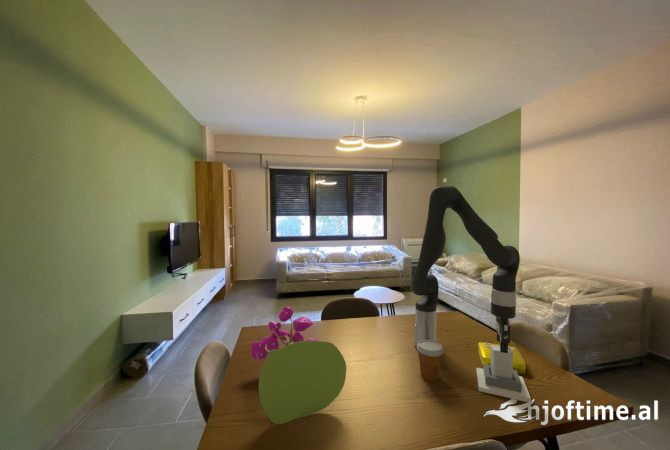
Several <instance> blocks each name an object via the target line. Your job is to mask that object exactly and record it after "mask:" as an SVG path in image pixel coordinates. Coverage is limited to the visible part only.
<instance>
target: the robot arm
mask: <svg viewBox="0 0 670 450" xmlns="http://www.w3.org/2000/svg"><path fill="white" fill-rule="evenodd" d="M447 209H451V210H452V211H453V212H455V213H456V214H457V216H458V217H460V219H461V221H462V223H463V226H464V228H465V231H467V233H468V235H469V236H470V237H471V238H472V239H473V240H474V241H475V242H476V243H477V244H478V245H479V246H480V247H481V249H482V251H483V252H484V254H485V256H486V257H487V259H488V260H489V261H490V262H491V263H492V264H494V265H495V266H497V269H496V271H495V272H494V273H493V275H492V282H491V283H492V285H491V286H492V288H491V295H490V314H491V315H493V316H494V317H495V324H494V325H495V329H496V341H497V342H499V345H500V351H501V352H503V353H508V346H509V344H510V343H511V322H510V320H509V319H511V320H512V319H515V318H516V315H517V313H516V312H517V294H516V287H517V282H516V280H517V275H518V271H519V267H520V261H521V257H520V253H519V251H518V249H517V248H516V247H514V246H513V245H507V244H506V245H503V244H502V243H501V242H500V240H499V235H498V233H497V232H496V231H494V230H493V228H492V227H491V226H490V225H488V223H487V222H485V221H484V220H483V219H482V217H480V216H479V215H478V213H477V212H476V211H475V210H474V209H473V208H472V206H471V204H470V203H469V202H468V201H467V199H466V198H465V196H464V195H463V194H462V193H461V191H460V190H459V189H458V188H457V187H455V186H452V185H444V186H442V185H441V186H437V187H435V188H434V189H432V190H431V193H430V195H429V201H428V211H427V219H426V224H425V228H424V234H423V238H422V243H421V248H420V253H419V256H418V260H417V261H418V262H417V265H416V268H415V270H414V273H413V277H412V281H411V288H412V289H411V290H412V292H413V294H415V295H416V296H422V297H421V298H420V299H418V300H417V301H416V302H415V324H414V346H415V347H417V345H418V342H419V341H421V340H432V341H435V342H437V306H438V303H439V291H440V289H439V288H440V287H439V285H440V284H439V280H438V279H437V277H436V276H435V275H434V274H431V273H430V274H429V272H430V270H431V269H432V267H433V266H434V265H435V264H436V263H437V262H438V261H439V259H440V258H441V256H442V254H443V252H444V250H445V245H446V240H447V236H446V231H445V228H444V216H445V214H446V210H447ZM505 337H506V338H505Z"/></svg>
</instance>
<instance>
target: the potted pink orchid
mask: <svg viewBox="0 0 670 450" xmlns="http://www.w3.org/2000/svg"><path fill="white" fill-rule="evenodd" d="M293 315H294V310H293V309H292V308H291V307H289V306H283V308H282V309H281V310H280V313H279V315H278V319H279V321H280V322H283V323H285V322H287V321H289V320H290V322H291V323H290V332H289V331H287V330H284V329H282V330H280V329H281V327H282V323H280V322H278V321H274V320H273V321H272V320H271V321H269V322H268V329H269V330H270V332H272V333H271V334H270V336H264V337H263V338H262V340H261V341H254V342H253V343H251V348H250V354H251V357H252V358H253V360H256V361H264V363H263V365H262V367H261V371H260V374H259V379H258V397H259V401H260V403H261V406H262V409H263V411H264V412H265V414H266V416H267V417H268V418H269V420H270V421H271V422H272V423H273V424H275V425H283V424H287V423H290V422H292V421H295V420H298V419H300V418H303V417H306V416H309V415H312V414H314V413H318V412H319V411H323V410H324V409H326V408H327V407H329V406H330V404H331V403H333V402H334V400H336V399H337V397H339V395H340V393H341V392H342V390H343V388H344V386H345V382H346V375H347V363H346V360H345V358H344V356H343V354H342V352H341V351H340V350H339V348H338V347H337V346H336V345H335V344H334V343H332V342H330V341H327V340H326V341H325V340H324V341H323V340H319V339H317V338H314V337H313V338H311V337H310V338H309V337H308V338H307V340H305V338H304V336H303V335H302V334H301V332H305V331H306V330H307V329H308V328H310V327H311V326H313V325H314V323H313V321H312V320H311V319H310V318H309V317H308V316H300V317H298V318H296V319H294V320H292V317H293ZM293 330H294V331H295V332H294V333H293ZM278 339H279V340H280V341H281V342H282V344H284V345H285V346H283V347H281V348H279V347H280V344H279V340H278ZM285 341H287V343H286V342H285Z"/></svg>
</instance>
